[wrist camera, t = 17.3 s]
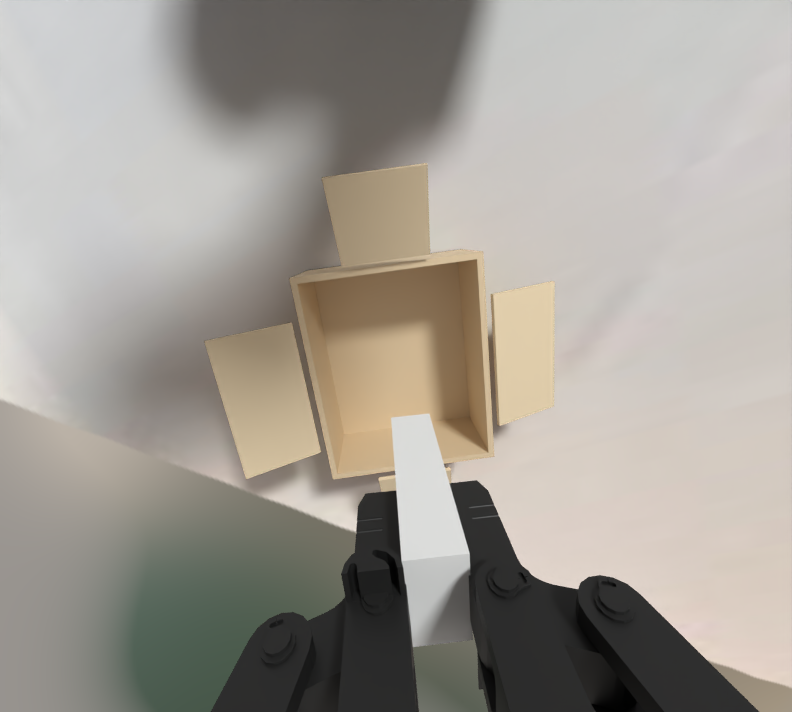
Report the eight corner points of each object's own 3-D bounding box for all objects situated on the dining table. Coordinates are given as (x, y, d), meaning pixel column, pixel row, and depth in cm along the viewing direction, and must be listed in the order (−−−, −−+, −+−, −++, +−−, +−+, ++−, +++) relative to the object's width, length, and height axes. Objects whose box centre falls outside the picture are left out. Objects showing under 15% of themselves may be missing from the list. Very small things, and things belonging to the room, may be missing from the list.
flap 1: (292, 322, 34) (291, 322, 34) (204, 341, 31) (204, 340, 31) (321, 452, 38) (320, 450, 39) (246, 479, 35) (245, 477, 36)
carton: (306, 270, 42) (289, 278, 33) (461, 249, 42) (483, 251, 33) (340, 437, 49) (332, 479, 40) (473, 418, 49) (494, 456, 40)
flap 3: (386, 515, 44) (386, 512, 45) (451, 506, 44) (450, 503, 45) (378, 480, 40) (378, 477, 40) (450, 470, 40) (450, 467, 40)
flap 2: (341, 266, 33) (341, 264, 33) (429, 254, 33) (429, 252, 33) (321, 179, 27) (322, 177, 28) (427, 164, 27) (426, 163, 28)
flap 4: (554, 281, 37) (551, 281, 37) (493, 294, 34) (490, 294, 35) (554, 406, 41) (551, 404, 41) (499, 426, 39) (497, 424, 39)
